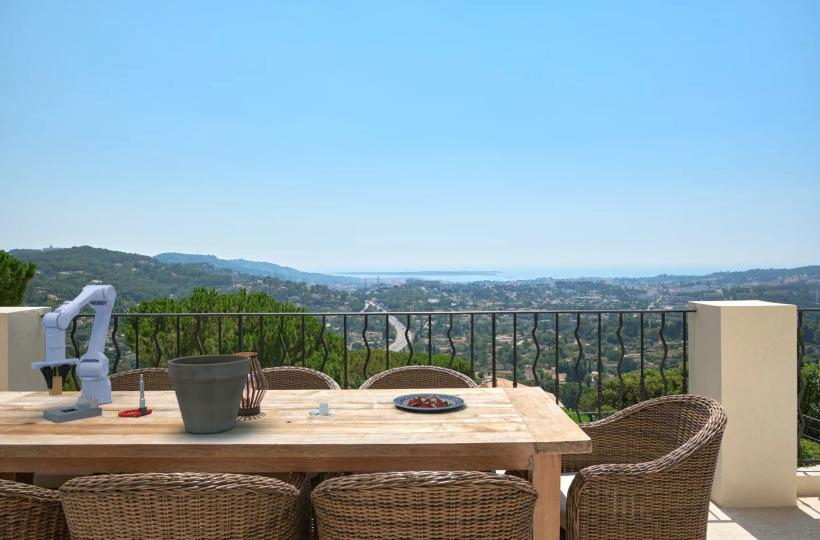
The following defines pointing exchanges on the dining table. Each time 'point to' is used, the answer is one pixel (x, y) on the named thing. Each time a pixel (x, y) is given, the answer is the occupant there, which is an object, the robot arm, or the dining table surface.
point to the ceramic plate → (428, 402)
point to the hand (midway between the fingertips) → (55, 387)
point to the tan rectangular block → (56, 386)
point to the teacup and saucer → (321, 410)
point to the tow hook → (142, 409)
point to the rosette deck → (75, 410)
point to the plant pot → (209, 390)
